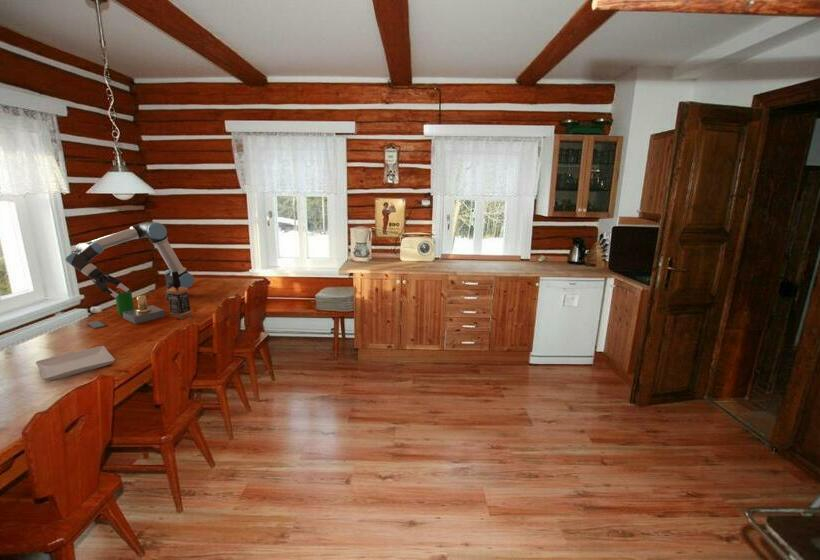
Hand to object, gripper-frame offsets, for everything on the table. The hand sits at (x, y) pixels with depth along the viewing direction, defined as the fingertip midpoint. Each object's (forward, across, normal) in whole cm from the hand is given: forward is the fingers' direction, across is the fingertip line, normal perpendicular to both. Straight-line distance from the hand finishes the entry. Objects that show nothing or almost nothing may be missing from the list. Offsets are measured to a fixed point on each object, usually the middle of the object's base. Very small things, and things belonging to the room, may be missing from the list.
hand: (122, 293), depth 254 cm
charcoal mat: (+5, +4, -22) cm, 23 cm away
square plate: (+20, +69, -7) cm, 73 cm away
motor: (+8, -16, -19) cm, 26 cm away
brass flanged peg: (+20, 0, -5) cm, 20 cm away
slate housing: (+21, 0, -6) cm, 21 cm away
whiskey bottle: (+37, -1, +10) cm, 38 cm away
